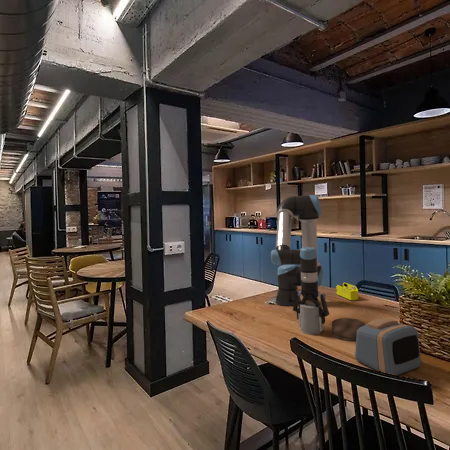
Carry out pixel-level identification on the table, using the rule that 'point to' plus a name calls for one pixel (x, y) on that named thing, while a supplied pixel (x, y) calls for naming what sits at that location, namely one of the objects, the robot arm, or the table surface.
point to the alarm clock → (388, 346)
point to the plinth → (346, 328)
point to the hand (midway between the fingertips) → (311, 328)
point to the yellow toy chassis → (347, 291)
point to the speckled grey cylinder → (310, 318)
